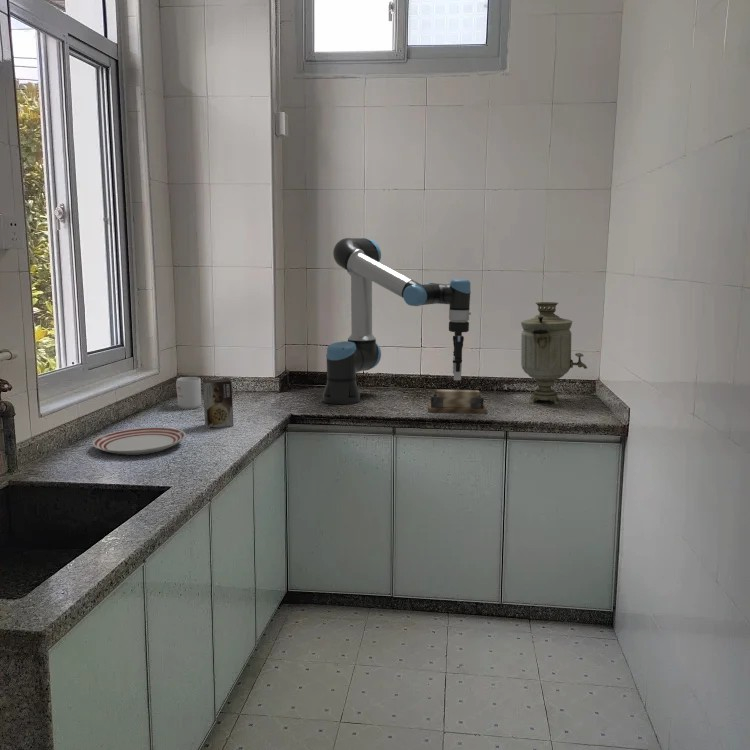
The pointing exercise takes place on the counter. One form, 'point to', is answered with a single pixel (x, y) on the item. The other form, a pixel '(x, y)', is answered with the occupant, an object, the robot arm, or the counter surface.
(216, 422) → the coffee box
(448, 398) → the slat
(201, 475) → the counter surface
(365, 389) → the counter surface
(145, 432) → the dinner plate
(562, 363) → the samovar
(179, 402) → the mug
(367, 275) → the robot arm
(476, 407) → the slat base
